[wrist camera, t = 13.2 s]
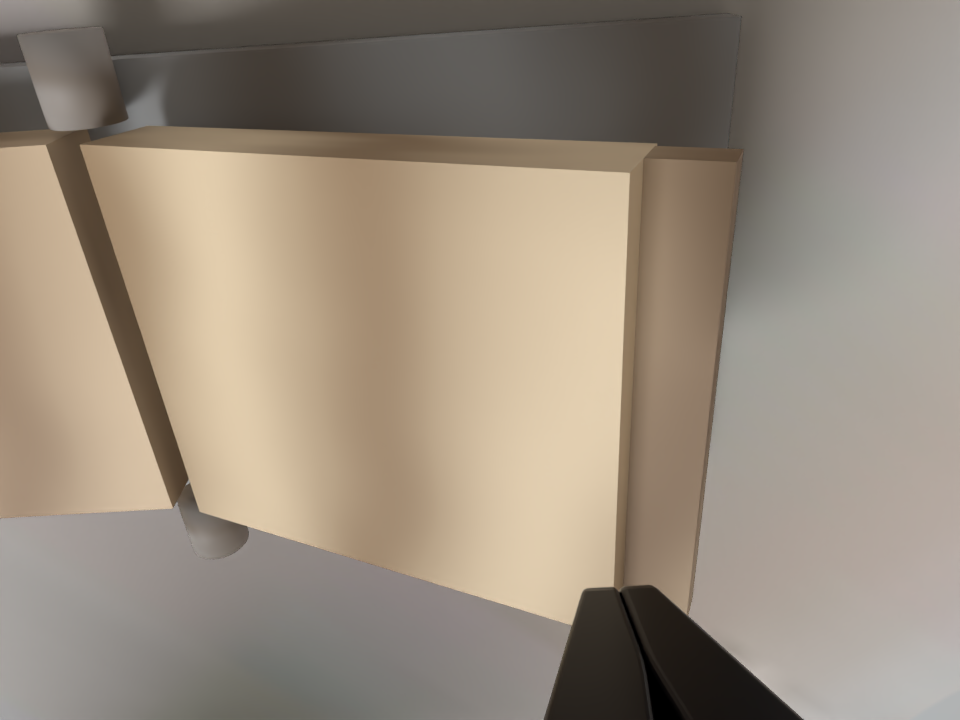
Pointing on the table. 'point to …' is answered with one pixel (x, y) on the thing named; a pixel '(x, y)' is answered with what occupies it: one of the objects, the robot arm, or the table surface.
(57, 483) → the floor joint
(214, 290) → the click plank
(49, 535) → the table surface
